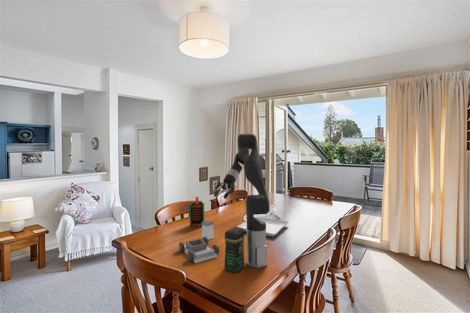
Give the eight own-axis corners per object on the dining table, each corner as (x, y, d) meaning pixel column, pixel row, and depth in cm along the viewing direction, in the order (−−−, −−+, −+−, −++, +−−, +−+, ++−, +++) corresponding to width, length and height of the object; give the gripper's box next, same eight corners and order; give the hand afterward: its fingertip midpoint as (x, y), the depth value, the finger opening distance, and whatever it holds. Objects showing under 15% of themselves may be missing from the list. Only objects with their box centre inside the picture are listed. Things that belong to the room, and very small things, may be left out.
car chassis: (220, 256, 130) (220, 246, 129) (191, 264, 122) (191, 254, 121) (203, 243, 147) (203, 234, 146) (178, 249, 139) (178, 240, 138)
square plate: (254, 220, 189) (254, 215, 189) (289, 226, 175) (289, 221, 175) (235, 231, 166) (235, 226, 166) (275, 239, 152) (275, 233, 152)
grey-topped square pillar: (213, 238, 155) (213, 221, 154) (207, 240, 151) (207, 224, 151) (208, 236, 158) (207, 220, 158) (202, 238, 154) (201, 222, 154)
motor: (190, 228, 173) (190, 199, 172) (189, 224, 182) (188, 196, 181) (205, 226, 176) (204, 198, 175) (203, 222, 185) (203, 195, 183)
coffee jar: (237, 274, 112) (236, 233, 111) (222, 270, 116) (221, 230, 115) (247, 265, 120) (246, 226, 119) (232, 261, 124) (232, 224, 123)
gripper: (221, 172, 172) (208, 192, 164) (236, 174, 163) (224, 195, 155) (226, 179, 176) (214, 198, 169) (242, 181, 167) (230, 202, 159)
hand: (219, 197), depth 162 cm, fingers open, 8 cm apart
